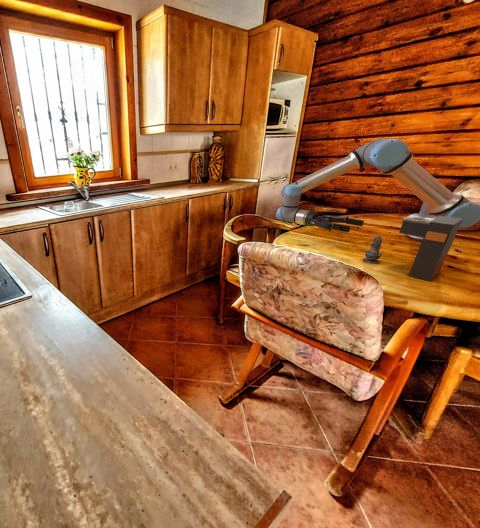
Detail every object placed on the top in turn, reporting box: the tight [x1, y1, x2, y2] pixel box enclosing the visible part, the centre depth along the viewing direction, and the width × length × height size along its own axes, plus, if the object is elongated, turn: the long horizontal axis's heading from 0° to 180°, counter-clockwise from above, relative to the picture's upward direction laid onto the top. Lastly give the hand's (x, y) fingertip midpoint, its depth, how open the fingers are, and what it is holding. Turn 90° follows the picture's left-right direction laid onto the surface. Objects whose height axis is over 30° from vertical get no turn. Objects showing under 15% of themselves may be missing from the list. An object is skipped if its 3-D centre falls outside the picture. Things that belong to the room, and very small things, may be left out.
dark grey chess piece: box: [362, 235, 383, 264], centre depth 120 cm, size 6×6×12 cm
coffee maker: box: [398, 212, 463, 282], centre depth 107 cm, size 13×13×22 cm
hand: (356, 226), depth 126 cm, fingers open, 13 cm apart
